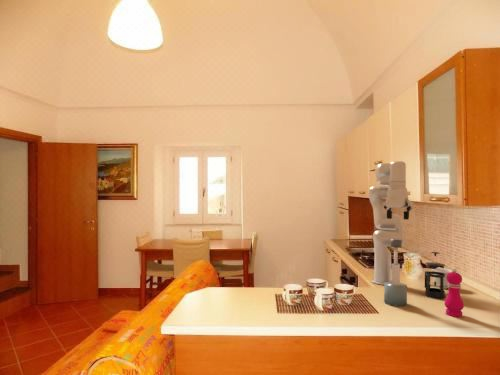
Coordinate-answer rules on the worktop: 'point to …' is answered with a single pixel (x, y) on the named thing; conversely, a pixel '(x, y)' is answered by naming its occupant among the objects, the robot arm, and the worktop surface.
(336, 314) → the worktop surface
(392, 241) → the pump head
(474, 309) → the worktop surface
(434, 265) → the french press
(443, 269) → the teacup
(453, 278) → the pepper mill
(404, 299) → the syrup pump bottle
